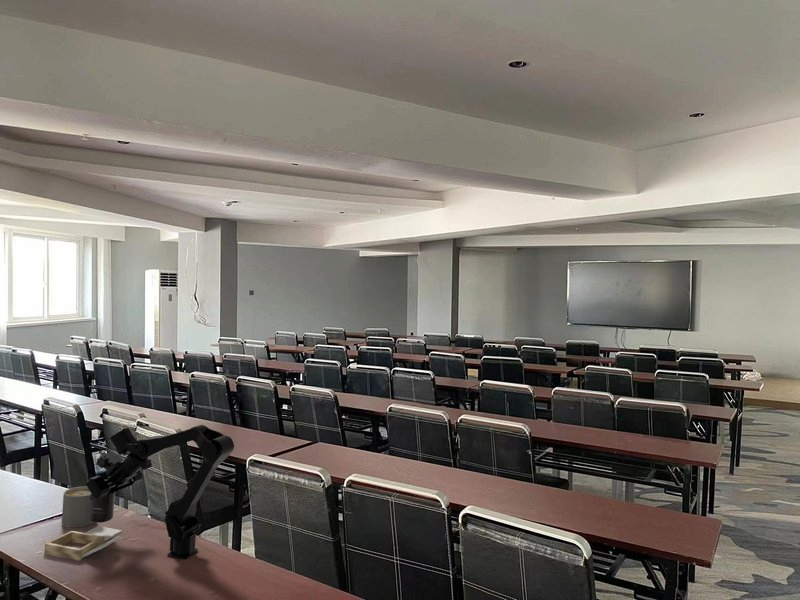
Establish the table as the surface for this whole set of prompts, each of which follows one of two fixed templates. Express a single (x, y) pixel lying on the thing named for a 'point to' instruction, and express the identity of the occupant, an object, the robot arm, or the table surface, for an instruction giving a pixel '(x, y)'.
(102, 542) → the frame
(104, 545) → the frame lid
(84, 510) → the coffee mug
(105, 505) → the supplement bottle
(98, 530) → the felt mat
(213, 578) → the table surface
